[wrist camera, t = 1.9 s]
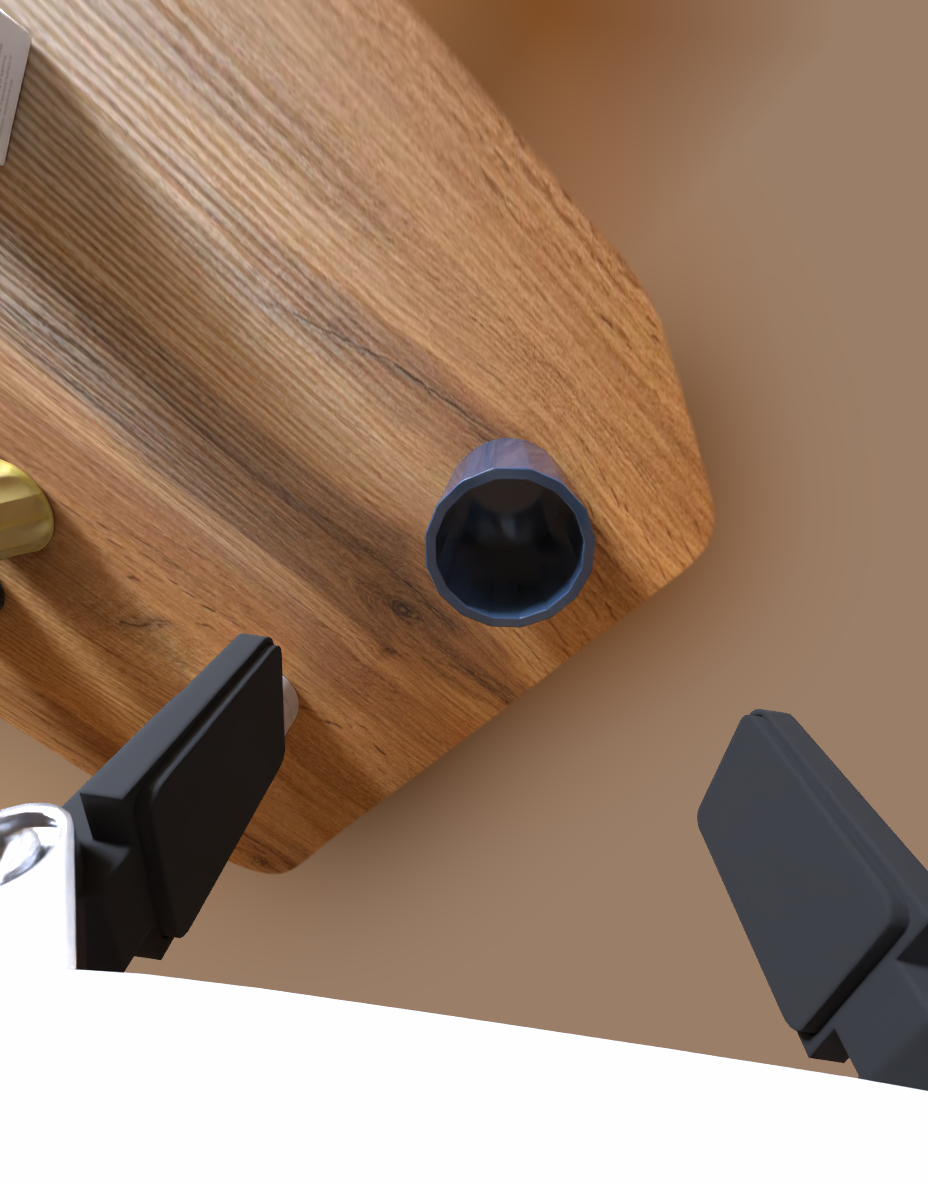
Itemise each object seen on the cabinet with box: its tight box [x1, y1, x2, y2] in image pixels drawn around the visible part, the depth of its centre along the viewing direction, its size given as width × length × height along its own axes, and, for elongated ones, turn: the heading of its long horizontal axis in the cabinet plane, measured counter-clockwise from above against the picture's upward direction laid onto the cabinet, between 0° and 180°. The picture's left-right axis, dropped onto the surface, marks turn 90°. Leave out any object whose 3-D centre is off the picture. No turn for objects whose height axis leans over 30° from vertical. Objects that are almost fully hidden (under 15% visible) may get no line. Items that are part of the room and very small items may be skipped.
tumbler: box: [425, 438, 596, 627], centre depth 23 cm, size 7×7×9 cm
